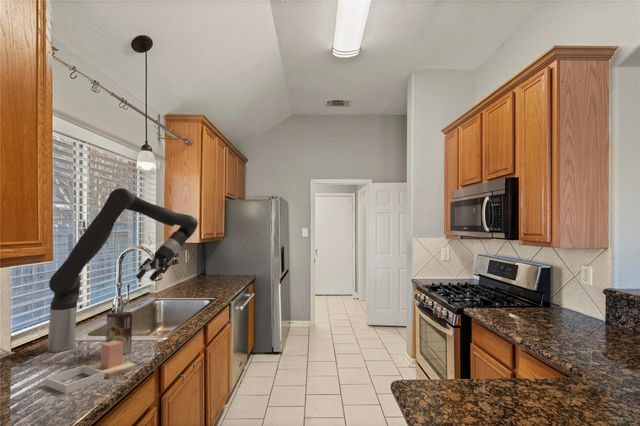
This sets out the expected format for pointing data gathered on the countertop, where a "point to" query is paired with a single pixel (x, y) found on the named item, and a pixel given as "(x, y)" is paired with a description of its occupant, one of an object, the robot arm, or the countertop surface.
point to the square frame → (66, 388)
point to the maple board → (115, 369)
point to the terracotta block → (111, 354)
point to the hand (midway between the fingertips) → (144, 279)
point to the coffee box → (120, 329)
